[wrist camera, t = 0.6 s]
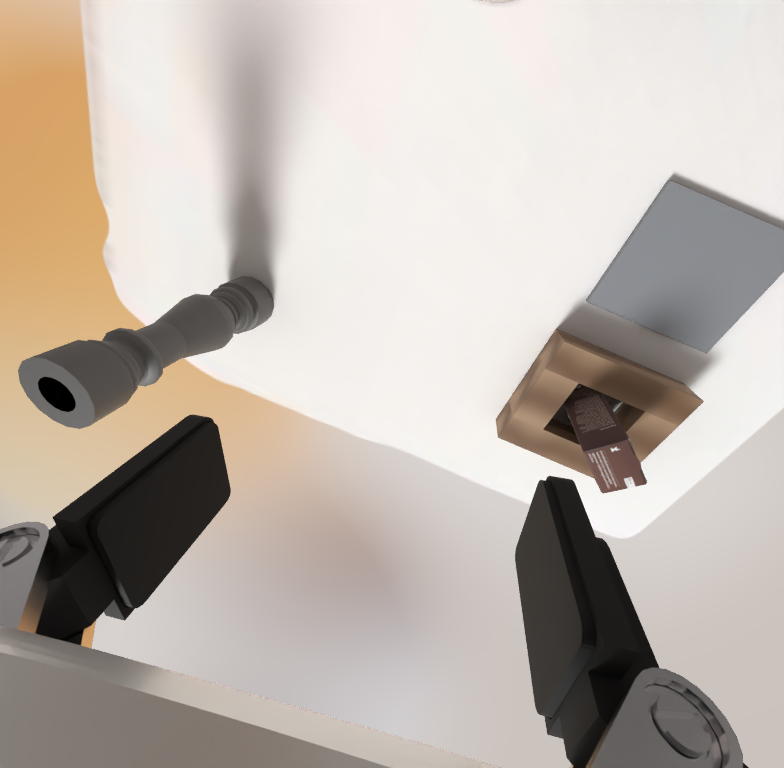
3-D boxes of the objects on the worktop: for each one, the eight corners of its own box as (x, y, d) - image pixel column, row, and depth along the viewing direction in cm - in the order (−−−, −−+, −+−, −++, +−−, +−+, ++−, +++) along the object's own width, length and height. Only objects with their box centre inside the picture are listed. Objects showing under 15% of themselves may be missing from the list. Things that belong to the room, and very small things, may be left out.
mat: (667, 180, 32) (670, 180, 31) (806, 241, 32) (812, 242, 32) (585, 300, 38) (587, 302, 38) (703, 351, 38) (706, 353, 38)
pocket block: (556, 328, 40) (564, 341, 37) (683, 383, 40) (703, 401, 37) (495, 419, 47) (498, 437, 44) (604, 465, 47) (615, 487, 44)
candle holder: (279, 321, 46) (114, 430, 25) (239, 325, 48) (50, 432, 26) (264, 273, 44) (64, 350, 22) (222, 279, 45) (-4, 356, 24)
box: (555, 390, 44) (582, 452, 33) (593, 376, 42) (634, 436, 31) (571, 427, 46) (602, 496, 35) (609, 415, 44) (653, 484, 33)
